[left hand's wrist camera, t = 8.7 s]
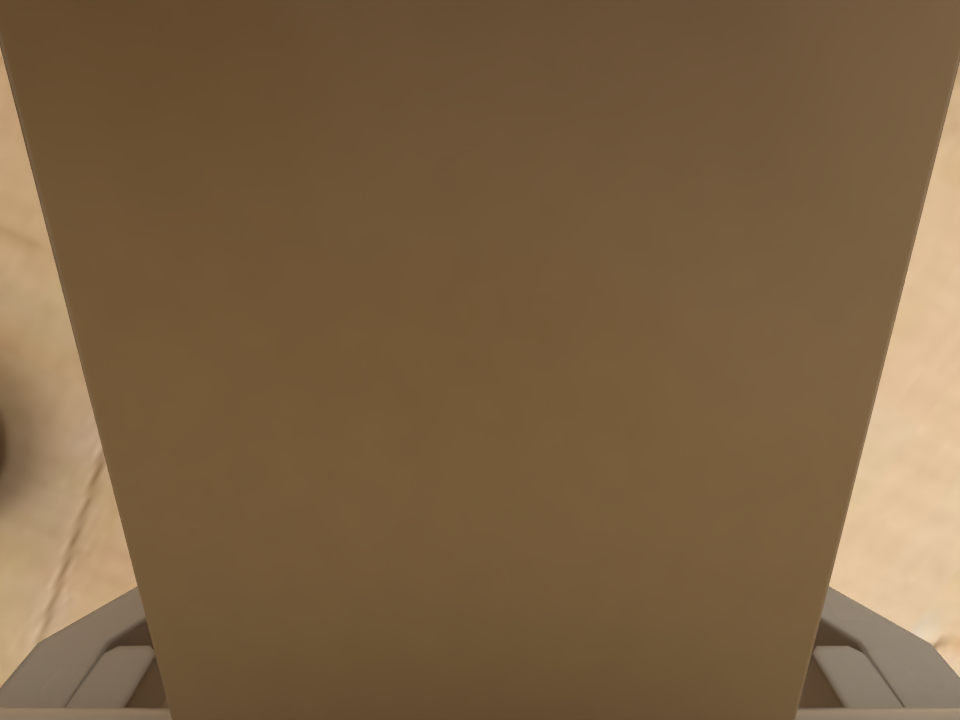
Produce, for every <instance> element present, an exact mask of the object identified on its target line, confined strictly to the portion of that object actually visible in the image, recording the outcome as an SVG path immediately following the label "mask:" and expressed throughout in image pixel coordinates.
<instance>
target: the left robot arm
mask: <svg viewBox="0 0 960 720" xmlns="http://www.w3.org/2000/svg"><path fill="white" fill-rule="evenodd" d="M0 720H172V719H171V715H170V711H169V707H168V703H167V699H166V695H165V691H164V687H163V683H162V679H161V675H160V671H159V668H158V664H157V660H156V656H155V652H154V648H153V644H152V640H151V636H150V632H149V628H148V624H147V620H146V616H145V613H144V609H143V605H142V601H141V597H140V593H139V589H138V586H137V587H136V588H134V589H132V590H130V591H129V592H127V593H125V594H123V595H122V596H120V597H118V598H116V599H115V600H113V601H111V602H109V603H108V604H106V605H104V606H102V607H101V608H99V609H97V610H95V611H94V612H92V613H90V614H88V615H87V616H85V617H83V618H81V619H80V620H78V621H76V622H74V623H73V624H71V625H69V626H67V627H66V628H64V629H62V630H60V631H58V632H57V633H55V634H53V635H51V636H50V637H48V638H46V639H44V640H43V641H41V642H39V643H38V644H37V645H36V646H35V647H34V649H33V650H32V651H31V652H30V653H29V655H28V656H27V657H26V658H25V659H24V660H23V662H22V663H21V664H20V665H19V666H18V668H17V669H16V670H15V671H14V672H13V674H12V675H11V676H10V677H9V678H8V679H7V681H6V682H5V683H4V684H3V685H2V687H1V688H0ZM795 720H960V678H959V676H958V675H957V674H956V673H955V672H954V671H953V669H952V668H951V667H950V666H949V665H948V664H947V662H946V661H945V660H944V659H943V658H942V657H941V655H940V654H939V653H938V652H937V651H936V649H935V648H934V647H933V646H932V645H931V644H930V643H928V642H926V641H925V640H923V639H921V638H919V637H918V636H916V635H914V634H912V633H910V632H909V631H907V630H905V629H903V628H902V627H900V626H898V625H896V624H895V623H893V622H891V621H889V620H888V619H886V618H884V617H882V616H880V615H879V614H877V613H875V612H873V611H872V610H870V609H868V608H866V607H865V606H863V605H861V604H859V603H858V602H856V601H854V600H852V599H850V598H849V597H847V596H845V595H843V594H842V593H840V592H838V591H836V590H835V589H833V588H831V587H829V586H828V590H827V594H826V598H825V602H824V606H823V610H822V614H821V618H820V622H819V626H818V630H817V634H816V638H815V642H814V646H813V650H812V654H811V658H810V662H809V666H808V670H807V674H806V678H805V682H804V686H803V690H802V694H801V698H800V702H799V706H798V710H797V714H796V718H795Z"/></svg>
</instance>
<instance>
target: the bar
mask: <svg viewBox="0 0 960 720" xmlns="http://www.w3.org/2000/svg"><path fill="white" fill-rule="evenodd" d="M0 47H1V51H2V55H3V59H4V63H5V67H6V71H7V74H8V78H9V82H10V86H11V90H12V94H13V98H14V102H15V106H16V110H17V114H18V118H19V122H20V126H21V129H22V133H23V137H24V141H25V145H26V149H27V153H28V157H29V161H30V165H31V169H32V173H33V177H34V180H35V184H36V188H37V192H38V196H39V200H40V204H41V208H42V212H43V216H44V220H45V224H46V228H47V232H48V235H49V239H50V243H51V247H52V251H53V255H54V259H55V263H56V267H57V271H58V275H59V279H60V283H61V287H62V290H63V294H64V298H65V302H66V306H67V310H68V314H69V318H70V322H71V326H72V330H73V334H74V338H75V342H76V345H77V349H78V353H79V357H80V361H81V365H82V369H83V373H84V377H85V381H86V385H87V389H88V393H89V397H90V400H91V404H92V408H93V412H94V416H95V420H96V424H97V428H98V432H99V436H100V440H101V444H102V448H103V451H104V455H105V459H106V463H107V467H108V471H109V475H110V479H111V483H112V487H113V491H114V495H115V499H116V503H117V506H118V510H119V514H120V518H121V522H122V526H123V530H124V534H125V538H126V542H127V546H128V550H129V554H130V558H131V561H132V565H133V569H134V573H135V577H136V581H137V585H138V589H139V593H140V597H141V601H142V605H143V609H144V613H145V616H146V620H147V624H148V628H149V632H150V636H151V640H152V644H153V648H154V652H155V656H156V660H157V664H158V668H159V671H160V675H161V679H162V683H163V687H164V691H165V695H166V699H167V703H168V707H169V711H170V715H171V719H172V720H795V718H796V714H797V710H798V706H799V702H800V698H801V694H802V690H803V686H804V682H805V678H806V674H807V670H808V666H809V662H810V658H811V654H812V650H813V646H814V642H815V638H816V634H817V630H818V626H819V622H820V618H821V614H822V610H823V606H824V602H825V598H826V594H827V590H828V586H829V582H830V578H831V574H832V570H833V566H834V562H835V558H836V554H837V550H838V546H839V542H840V538H841V534H842V530H843V526H844V522H845V518H846V514H847V510H848V506H849V502H850V498H851V494H852V490H853V486H854V482H855V478H856V474H857V470H858V466H859V462H860V458H861V454H862V450H863V446H864V442H865V438H866V434H867V430H868V426H869V422H870V418H871V414H872V410H873V406H874V402H875V398H876V394H877V390H878V386H879V382H880V378H881V374H882V370H883V366H884V362H885V358H886V354H887V350H888V346H889V342H890V338H891V334H892V330H893V326H894V322H895V318H896V314H897V310H898V306H899V302H900V298H901V294H902V290H903V286H904V282H905V278H906V274H907V270H908V266H909V262H910V258H911V254H912V250H913V246H914V242H915V238H916V234H917V230H918V226H919V222H920V218H921V214H922V210H923V206H924V202H925V198H926V194H927V190H928V186H929V182H930V178H931V174H932V170H933V166H934V162H935V158H936V154H937V150H938V146H939V142H940V138H941V134H942V130H943V126H944V122H945V118H946V114H947V110H948V106H949V102H950V98H951V94H952V90H953V86H954V82H955V78H956V74H957V70H958V66H959V62H960V0H0Z"/></svg>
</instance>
